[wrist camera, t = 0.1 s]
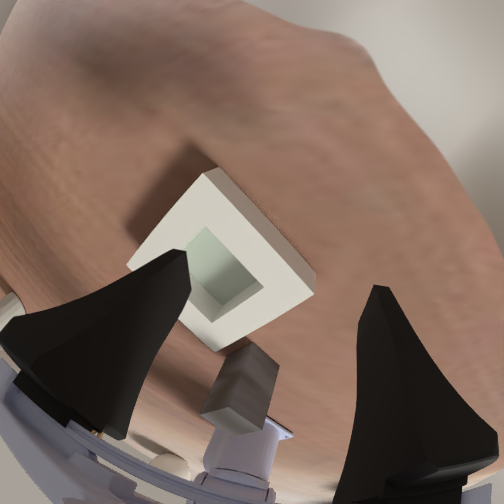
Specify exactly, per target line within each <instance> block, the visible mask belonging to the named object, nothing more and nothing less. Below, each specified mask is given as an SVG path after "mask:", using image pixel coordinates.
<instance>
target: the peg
mask: <svg viewBox="0 0 504 504" xmlns="http://www.w3.org/2000/svg"><path fill="white" fill-rule="evenodd" d="M278 370H279V365H278V364H277V363H276V362H275V361H274V360H273V359H271V358H270V357H269V356H268V355H267V354H266V353H265V352H264V351H263V350H261V349H260V348H259V347H258V346H257V345H256V344H255V343H254V342H253V343H251V344H249V345H247V346H245V347H243V348H241V349H239V350H237V351H235V352H233V353H231V354H230V355H228V356H227V357H226V359H225V361H224V363H223V365H222V368H221V370H220V372H219V374H218V376H217V378H216V381H215V383H214V385H213V387H212V389H211V391H210V393H209V395H208V398H207V400H206V402H205V404H204V406H203V408H202V410H201V412H200V414H199V415H200V416H202V417H203V418H205V419H206V420H207V421H209V422H210V423H212V424H213V425H215V426H216V427H218V428H219V429H221V430H222V431H224V432H226V433H227V434H229V435H230V436H236V435H241V434H246V433H251V432H256V431H261V430H263V426H264V423H265V419H266V415H267V412H268V408H269V405H270V401H271V397H272V393H273V390H274V386H275V382H276V378H277V374H278Z"/></svg>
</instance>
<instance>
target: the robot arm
mask: <svg viewBox="0 0 504 504" xmlns="http://www.w3.org/2000/svg"><path fill="white" fill-rule="evenodd" d="M191 291H192V288H191V281H190V274H189V267H188V259H187V252H186V251H184V250H178V249H171V250H169V251H167V252H165V253H163V254H162V255H160V256H158V257H156V258H155V259H153V260H151V261H150V262H148V263H146V264H145V265H143V266H141V267H140V268H138V269H136V270H135V271H133V272H131V273H129V274H128V275H126V276H124V277H122V278H120V279H119V280H117V281H115V282H113V283H111V284H109V285H108V286H106V287H104V288H102V289H100V290H98V291H95V292H93V293H91V294H89V295H87V296H84V297H82V298H79V299H76V300H74V301H71V302H68V303H66V304H63V305H60V306H57V307H54V308H51V309H47V310H43V311H39V312H35V313H30V314H25V315H20V316H14V317H13V318H11V320H10V321H9V322H8V323H7V324H6V325H5V326H4V328H3V329H2V330H1V331H0V345H1V347H2V348H3V349H4V350H5V352H6V353H7V354H8V355H9V356H10V358H11V359H12V360H13V361H14V362H15V364H16V365H17V366H18V367H19V368H20V369H21V371H20V372H19V374H17V373H16V371H15V370H14V369H13V368H12V367H10V365H8V363H7V362H6V361H5V360H4V359H3V358H0V435H1V437H2V439H3V440H4V442H5V443H6V445H7V446H8V448H9V449H10V450H11V452H12V453H13V455H14V457H15V458H16V459H17V461H18V462H19V463H20V465H21V466H22V468H23V469H24V470H25V471H26V473H27V474H28V475H29V477H30V478H31V479H32V480H33V481H34V483H35V484H36V485H37V486H38V487H39V489H40V490H41V491H42V492H43V493H44V494H45V495H46V496H47V497H48V498H49V500H50V501H51V502H52V503H53V504H162V503H160V502H158V501H155V500H153V499H151V498H148V497H146V496H144V495H142V494H139V493H137V492H135V491H134V490H135V489H136V486H137V483H136V482H134V481H132V480H131V479H129V478H127V477H125V476H124V475H122V474H120V473H118V472H116V471H114V470H113V469H111V468H109V467H107V466H105V465H103V464H101V463H99V462H98V460H97V456H96V455H98V456H100V457H101V458H103V459H105V460H106V461H108V462H110V463H112V464H113V465H115V466H117V467H118V468H120V469H122V470H124V471H126V472H128V473H129V474H131V475H133V476H135V477H137V478H139V479H141V480H144V481H146V482H148V483H150V484H152V485H154V486H157V487H159V488H161V489H163V490H166V491H168V492H171V493H173V494H176V495H178V496H181V497H184V498H186V499H187V500H186V504H279V503H275V498H276V493H275V491H274V490H273V488H268V486H269V483H270V482H268V479H269V476H270V472H271V469H272V465H273V461H274V457H275V453H276V449H277V445H278V441H279V440H283V439H288V438H292V437H293V434H292V433H291V432H289V431H288V430H286V429H285V428H283V427H282V426H280V425H279V424H277V423H276V422H274V421H273V420H271V419H270V418H268V417H267V416H266V419H265V423H264V426H263V430H261V431H256V432H251V433H246V434H241V435H236V436H230V435H229V434H227V433H226V432H224V431H222V430H221V429H219V428H218V427H216V428H215V431H214V433H213V435H212V438H211V440H210V442H209V445H208V447H207V449H206V452H205V454H204V458H203V464H204V468H205V470H206V471H207V472H206V471H204V472H202V473H200V474H198V475H197V476H196V478H195V480H194V481H193V482H192V481H189V480H186V479H183V478H181V477H178V476H175V475H173V474H170V473H168V472H166V471H163V470H161V469H159V468H156V467H154V466H152V465H150V464H147V463H145V462H143V461H141V460H139V459H137V458H135V457H133V456H131V455H129V454H127V453H125V452H123V451H121V450H120V449H118V448H116V447H114V446H112V445H111V444H109V443H107V442H106V441H104V440H102V439H101V438H99V437H97V436H95V435H94V434H92V433H91V432H92V430H94V431H96V432H98V433H99V434H101V433H102V432H104V433H105V434H107V435H109V436H111V437H113V438H114V439H116V440H123V439H125V438H126V435H127V431H128V427H129V423H130V420H131V416H132V413H133V410H134V407H135V404H136V401H137V398H138V395H139V393H140V390H141V387H142V385H143V382H144V380H145V377H146V375H147V373H148V371H149V368H150V366H151V364H152V362H153V359H154V358H155V356H156V354H157V352H158V350H159V349H160V347H161V345H162V344H163V342H164V340H165V339H166V337H167V336H168V334H169V332H170V331H171V329H172V327H173V326H174V324H175V323H176V321H177V319H178V318H179V316H180V314H181V313H182V311H183V309H184V307H185V305H186V302H187V300H188V298H189V295H190V293H191ZM356 347H357V401H356V411H355V418H354V424H353V430H352V435H351V440H350V444H349V449H348V453H347V457H346V461H345V465H344V468H343V472H342V475H341V478H340V481H339V484H338V487H337V490H336V492H335V495H334V498H333V502H332V504H491V489H492V484H490V483H489V484H486V485H484V486H481V487H477V488H474V489H471V490H468V491H465V492H462V486H464V485H466V484H467V480H468V475H470V474H472V473H474V472H477V471H479V470H481V469H483V468H485V467H487V466H489V465H490V464H492V463H494V462H495V461H496V460H497V459H498V457H499V447H498V435H497V432H496V431H495V430H494V429H493V428H492V427H491V426H489V425H488V424H487V423H486V422H485V421H484V420H483V419H482V418H481V417H480V416H479V415H478V414H477V413H476V412H475V411H474V410H473V409H472V408H471V407H470V406H469V405H468V404H467V403H466V402H465V401H464V400H463V398H462V397H461V396H460V395H459V394H458V393H457V391H456V390H455V389H454V388H453V386H452V385H451V384H450V383H449V382H448V380H447V379H446V378H445V376H444V375H443V374H442V372H441V371H440V369H439V368H438V367H437V365H436V364H435V363H434V361H433V360H432V358H431V357H430V355H429V354H428V352H427V351H426V349H425V347H424V346H423V344H422V343H421V341H420V340H419V338H418V336H417V335H416V333H415V331H414V330H413V328H412V326H411V324H410V323H409V321H408V319H407V318H406V316H405V314H404V312H403V311H402V309H401V307H400V305H399V304H398V302H397V300H396V298H395V297H394V295H393V293H392V291H391V290H390V288H389V287H386V286H380V285H373V288H372V291H371V293H370V296H369V298H368V301H367V303H366V306H365V308H364V310H363V313H362V315H361V317H360V320H359V322H358V333H357V346H356Z"/></svg>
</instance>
